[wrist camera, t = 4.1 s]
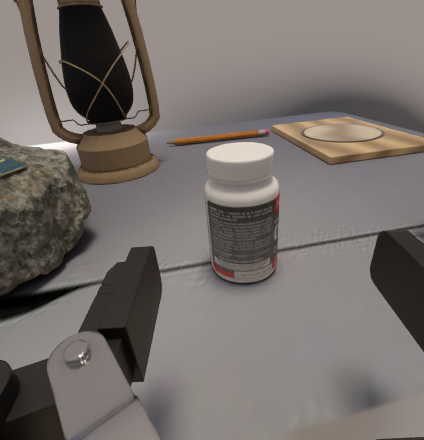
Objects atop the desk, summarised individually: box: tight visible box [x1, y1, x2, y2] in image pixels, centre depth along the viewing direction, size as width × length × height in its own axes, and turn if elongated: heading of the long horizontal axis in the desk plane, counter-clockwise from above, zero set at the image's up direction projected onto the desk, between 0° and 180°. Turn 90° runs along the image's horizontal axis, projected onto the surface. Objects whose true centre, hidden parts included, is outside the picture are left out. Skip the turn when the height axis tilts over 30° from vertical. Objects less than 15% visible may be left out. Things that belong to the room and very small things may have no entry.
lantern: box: [13, 0, 160, 184], centre depth 35 cm, size 14×12×30 cm
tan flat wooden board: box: [272, 117, 424, 164], centre depth 47 cm, size 16×22×1 cm
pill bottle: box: [204, 142, 280, 283], centre depth 19 cm, size 5×5×8 cm
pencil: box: [168, 130, 269, 145], centre depth 52 cm, size 1×1×19 cm
